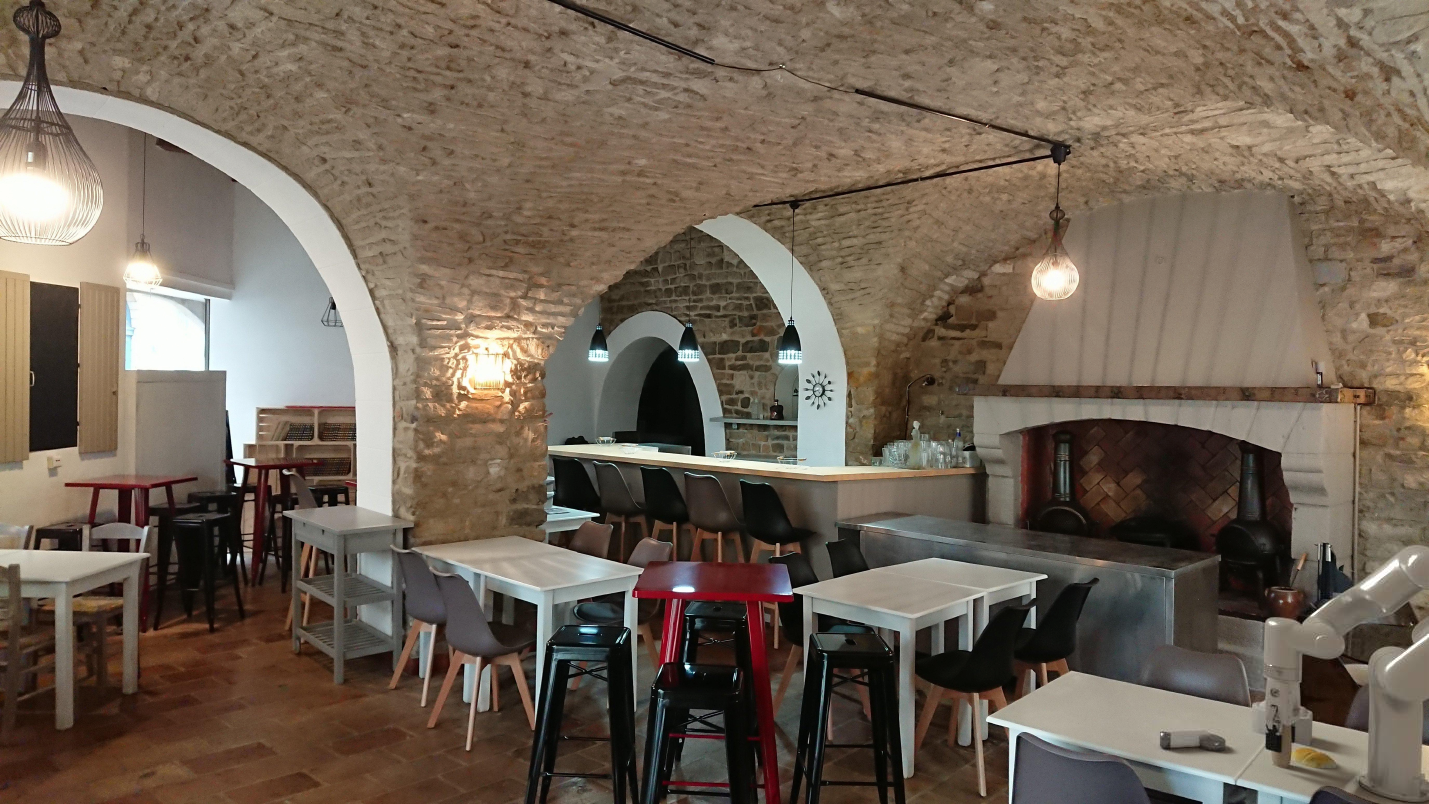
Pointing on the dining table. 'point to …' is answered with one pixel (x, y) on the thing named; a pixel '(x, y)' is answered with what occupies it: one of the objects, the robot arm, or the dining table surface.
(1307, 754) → the bread roll
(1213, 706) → the dining table surface
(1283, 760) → the handle
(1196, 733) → the grey elongated piece
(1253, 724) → the white egg tray
